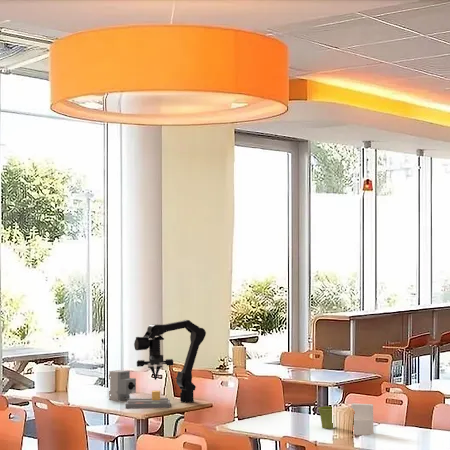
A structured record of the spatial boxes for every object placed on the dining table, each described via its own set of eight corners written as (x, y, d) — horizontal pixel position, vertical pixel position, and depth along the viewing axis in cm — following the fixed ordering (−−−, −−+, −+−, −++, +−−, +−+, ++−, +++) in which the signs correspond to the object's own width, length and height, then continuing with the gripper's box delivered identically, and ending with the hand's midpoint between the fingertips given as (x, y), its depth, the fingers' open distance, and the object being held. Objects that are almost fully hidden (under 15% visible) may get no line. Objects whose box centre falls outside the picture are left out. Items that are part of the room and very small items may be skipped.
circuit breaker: (128, 401, 498) (128, 372, 498) (108, 399, 506) (108, 371, 507) (138, 399, 504) (138, 371, 504) (118, 397, 512) (118, 370, 513)
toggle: (160, 400, 485) (160, 390, 485) (159, 401, 480) (159, 391, 480) (152, 400, 484) (152, 390, 485) (151, 401, 479) (151, 391, 480)
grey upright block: (349, 434, 394) (349, 405, 395) (354, 430, 403) (354, 402, 403) (371, 435, 391) (370, 406, 392) (375, 431, 399) (375, 403, 400)
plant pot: (325, 430, 404) (324, 410, 404) (314, 427, 413) (314, 407, 413) (344, 428, 408) (343, 408, 408) (333, 425, 416) (332, 405, 417)
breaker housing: (170, 403, 489) (170, 397, 489) (169, 407, 475) (169, 401, 475) (127, 404, 488) (127, 397, 488) (125, 408, 474) (125, 401, 474)
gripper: (136, 351, 479) (136, 382, 478) (173, 349, 480) (173, 380, 479) (136, 349, 490) (137, 379, 489) (172, 347, 491) (173, 378, 491)
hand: (155, 379), depth 487 cm, fingers closed
